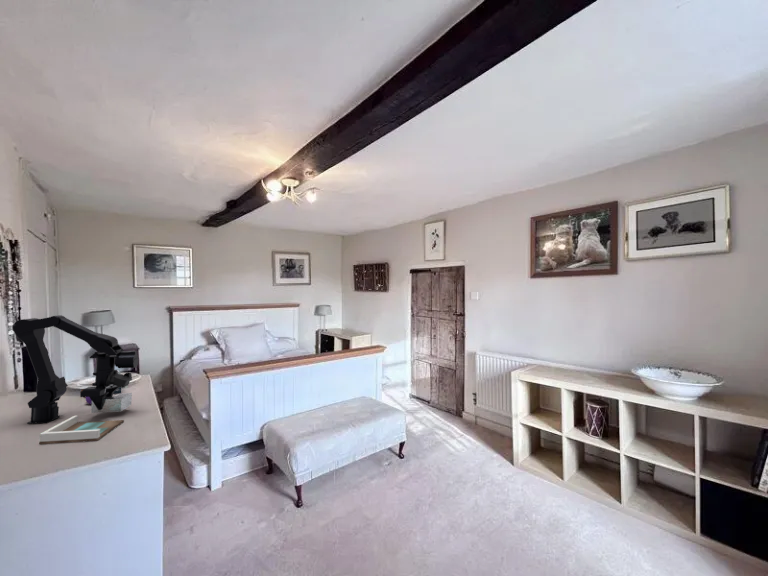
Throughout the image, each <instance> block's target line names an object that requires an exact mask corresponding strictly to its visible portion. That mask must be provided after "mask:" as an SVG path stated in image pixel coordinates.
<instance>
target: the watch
mask: <svg viewBox="0 0 768 576" xmlns="http://www.w3.org/2000/svg"><path fill="white" fill-rule="evenodd" d="M116 370H117V371H118V374H122V372H120V370H118V369H116ZM120 393H122V388H120V387H119V388H118V389H117V390H115V391H114V393H113V395H119V394H120Z"/></svg>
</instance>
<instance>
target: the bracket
mask: <svg viewBox="0 0 768 576" xmlns="http://www.w3.org/2000/svg"><path fill="white" fill-rule="evenodd" d="M132 396H133V394H132V392H121V393H118V394H116V395H114V396H113V395H112V396H107V397H104V402H103V407H102V410H98V409H97V408H96V406H95V404H94V403H93V401H92V404H90V405H91V408H90V413H91V414H95V413H96V414H97V413H117V412H118V413H120V412H122V411H124V410H125V409H127V408H129V407H130V406H132V401H133V400H132Z"/></svg>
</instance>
